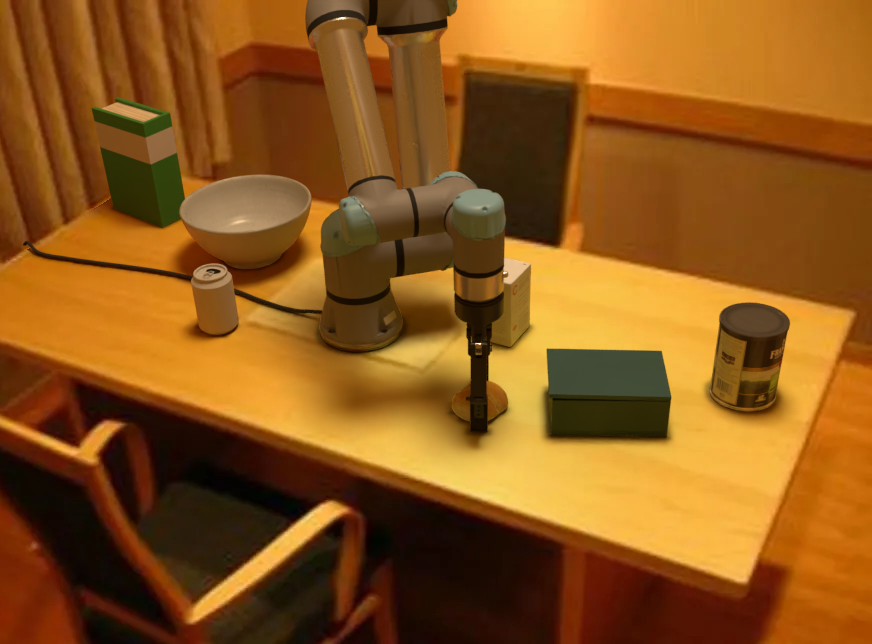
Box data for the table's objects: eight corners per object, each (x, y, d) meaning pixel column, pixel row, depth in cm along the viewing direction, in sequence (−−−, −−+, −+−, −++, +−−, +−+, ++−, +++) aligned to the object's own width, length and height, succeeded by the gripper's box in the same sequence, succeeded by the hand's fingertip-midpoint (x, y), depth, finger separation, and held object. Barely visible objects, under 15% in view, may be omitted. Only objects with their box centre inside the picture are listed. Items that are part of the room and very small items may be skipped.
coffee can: (783, 384, 175) (797, 310, 167) (766, 418, 168) (780, 343, 160) (719, 368, 180) (730, 295, 172) (700, 401, 173) (710, 327, 165)
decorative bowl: (162, 264, 224) (151, 211, 217) (252, 215, 240) (245, 164, 233) (253, 300, 209) (244, 245, 202) (343, 245, 225) (338, 192, 218)
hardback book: (113, 208, 248) (91, 108, 234) (138, 196, 252) (118, 97, 239) (162, 227, 238) (143, 124, 224) (188, 215, 242) (170, 112, 228)
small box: (498, 318, 198) (499, 255, 190) (530, 326, 194) (532, 262, 187) (478, 339, 192) (477, 275, 185) (510, 348, 189) (511, 283, 182)
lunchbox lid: (549, 398, 164) (549, 393, 164) (546, 352, 174) (546, 348, 174) (670, 401, 162) (671, 396, 162) (661, 354, 172) (661, 350, 172)
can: (246, 320, 203) (238, 264, 196) (226, 340, 198) (217, 283, 191) (212, 313, 206) (203, 258, 199) (192, 333, 201) (181, 277, 194)
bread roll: (516, 404, 176) (517, 384, 173) (482, 430, 171) (482, 410, 168) (476, 386, 181) (476, 366, 178) (442, 411, 175) (441, 391, 173)
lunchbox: (550, 435, 168) (552, 400, 164) (548, 388, 178) (549, 354, 175) (666, 437, 166) (671, 401, 162) (657, 389, 176) (661, 355, 172)
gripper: (504, 333, 153) (502, 453, 165) (504, 253, 172) (503, 367, 184) (451, 333, 154) (453, 453, 166) (456, 254, 173) (459, 366, 185)
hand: (479, 408), depth 175 cm, fingers open, 11 cm apart
